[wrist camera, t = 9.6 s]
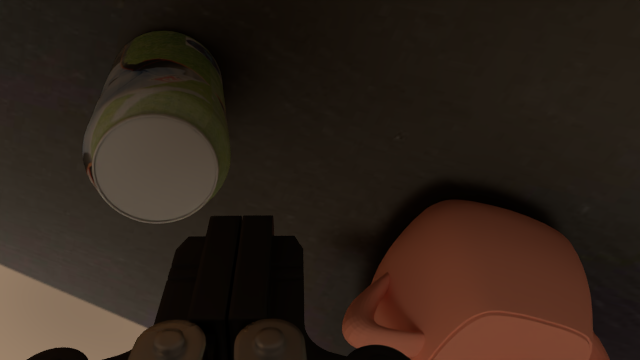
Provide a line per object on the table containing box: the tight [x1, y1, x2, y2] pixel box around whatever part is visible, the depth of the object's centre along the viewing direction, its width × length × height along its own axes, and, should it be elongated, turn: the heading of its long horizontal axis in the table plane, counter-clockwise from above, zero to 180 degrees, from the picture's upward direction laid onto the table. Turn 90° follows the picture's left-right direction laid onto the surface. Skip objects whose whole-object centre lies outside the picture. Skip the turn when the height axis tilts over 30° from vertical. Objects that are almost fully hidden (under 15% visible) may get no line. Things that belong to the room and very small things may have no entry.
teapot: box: [342, 199, 610, 360], centre depth 36 cm, size 13×20×12 cm, turn 69°
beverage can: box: [82, 31, 231, 223], centre depth 28 cm, size 6×7×12 cm
